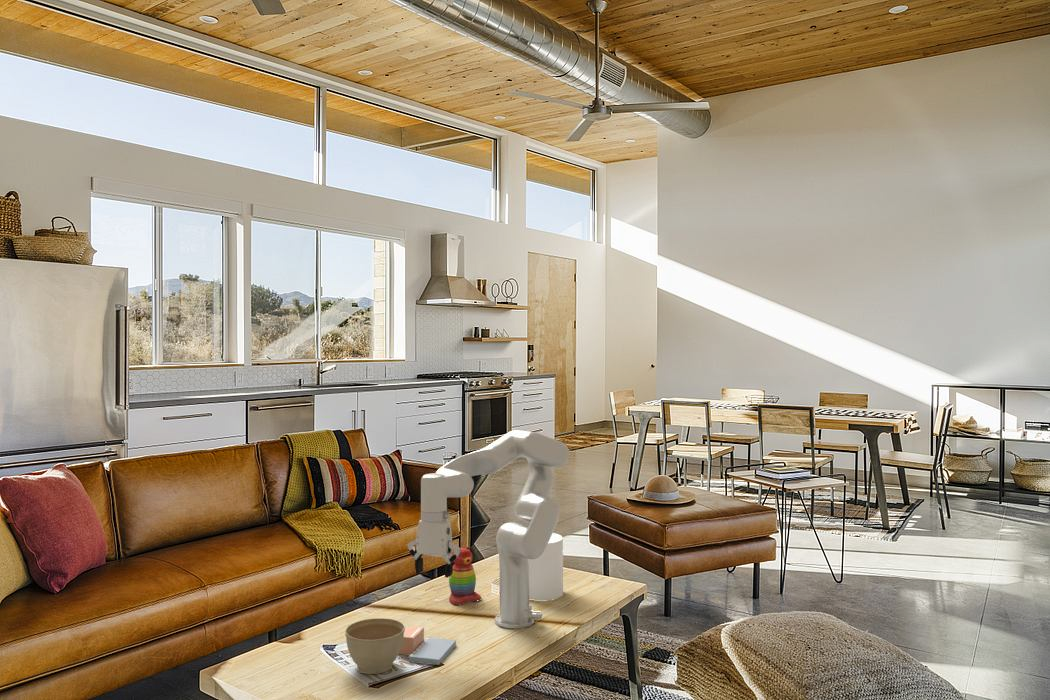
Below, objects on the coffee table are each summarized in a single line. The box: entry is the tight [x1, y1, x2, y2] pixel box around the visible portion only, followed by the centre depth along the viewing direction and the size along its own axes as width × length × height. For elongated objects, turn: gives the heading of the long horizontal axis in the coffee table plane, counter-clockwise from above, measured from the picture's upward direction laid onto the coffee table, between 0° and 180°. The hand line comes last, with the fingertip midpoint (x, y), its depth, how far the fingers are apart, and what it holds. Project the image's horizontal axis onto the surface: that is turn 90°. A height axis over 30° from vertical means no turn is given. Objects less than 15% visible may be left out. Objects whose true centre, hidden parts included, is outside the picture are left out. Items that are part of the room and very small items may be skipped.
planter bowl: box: [344, 617, 406, 675], centre depth 209 cm, size 16×16×11 cm
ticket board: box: [408, 636, 457, 666], centre depth 218 cm, size 9×14×2 cm, turn 166°
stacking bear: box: [448, 546, 482, 606], centre depth 263 cm, size 11×10×18 cm
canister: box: [528, 532, 564, 601], centre depth 268 cm, size 16×16×20 cm
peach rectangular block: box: [398, 625, 425, 656], centre depth 221 cm, size 5×8×5 cm, turn 166°
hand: (433, 574), depth 222 cm, fingers open, 9 cm apart
